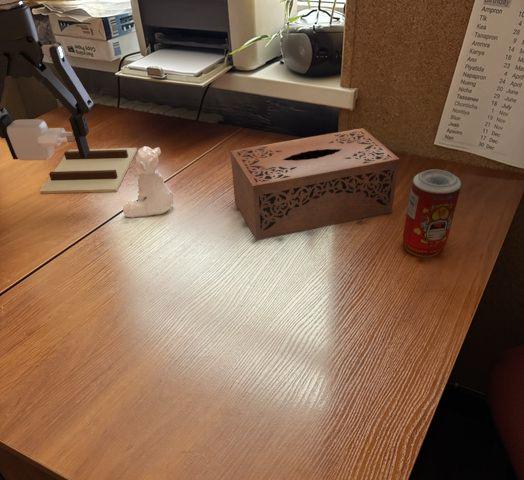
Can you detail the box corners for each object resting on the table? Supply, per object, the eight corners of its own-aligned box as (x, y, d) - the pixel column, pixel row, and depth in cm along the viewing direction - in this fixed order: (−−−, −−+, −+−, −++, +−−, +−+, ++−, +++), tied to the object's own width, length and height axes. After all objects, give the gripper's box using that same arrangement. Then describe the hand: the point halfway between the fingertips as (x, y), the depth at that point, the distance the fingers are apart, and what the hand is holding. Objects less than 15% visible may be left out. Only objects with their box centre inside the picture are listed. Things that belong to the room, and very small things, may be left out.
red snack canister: (415, 263, 80) (429, 191, 72) (393, 240, 85) (404, 171, 76) (453, 254, 82) (472, 182, 73) (430, 232, 86) (445, 163, 78)
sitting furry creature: (146, 193, 101) (132, 133, 92) (185, 199, 99) (175, 137, 90) (122, 217, 95) (105, 154, 86) (162, 223, 92) (149, 160, 84)
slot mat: (40, 193, 103) (36, 184, 101) (69, 152, 117) (66, 143, 116) (116, 191, 102) (114, 182, 101) (137, 150, 116) (135, 141, 115)
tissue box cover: (256, 240, 87) (253, 186, 80) (234, 201, 97) (230, 150, 90) (391, 212, 92) (399, 159, 85) (357, 178, 102) (362, 128, 94)
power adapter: (87, 150, 88) (77, 115, 84) (79, 162, 85) (68, 127, 81) (26, 151, 89) (13, 117, 85) (15, 163, 86) (1, 128, 82)
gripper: (88, -5, 73) (123, 145, 89) (-66, 2, 75) (-5, 147, 90) (72, 7, 68) (112, 163, 84) (-94, 13, 70) (-24, 166, 85)
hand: (51, 155), depth 87 cm, fingers closed on power adapter, 11 cm apart
